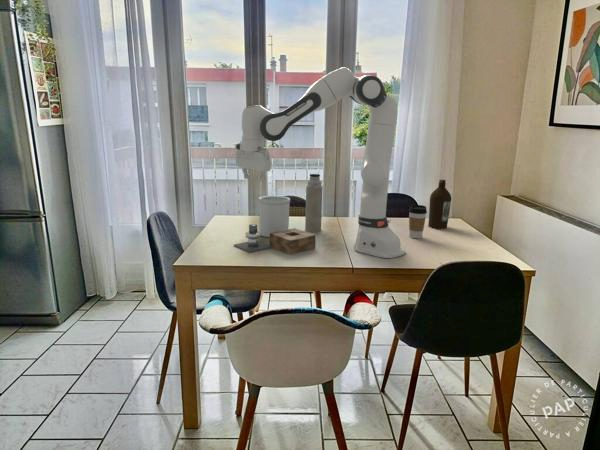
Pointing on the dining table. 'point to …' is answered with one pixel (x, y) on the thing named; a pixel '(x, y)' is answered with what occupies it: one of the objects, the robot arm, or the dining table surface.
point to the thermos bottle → (313, 204)
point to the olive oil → (439, 207)
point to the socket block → (292, 241)
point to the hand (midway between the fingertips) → (253, 180)
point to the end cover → (253, 235)
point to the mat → (249, 249)
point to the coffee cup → (416, 220)
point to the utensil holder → (273, 214)
